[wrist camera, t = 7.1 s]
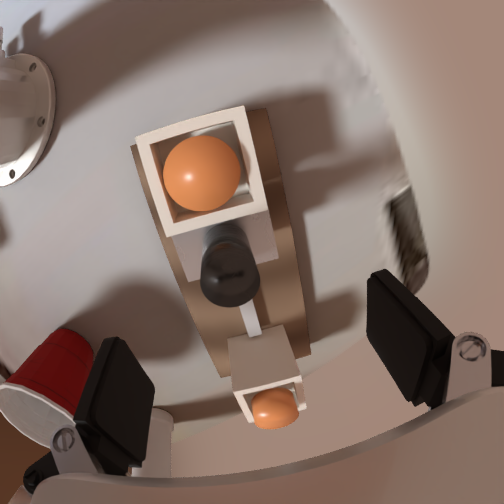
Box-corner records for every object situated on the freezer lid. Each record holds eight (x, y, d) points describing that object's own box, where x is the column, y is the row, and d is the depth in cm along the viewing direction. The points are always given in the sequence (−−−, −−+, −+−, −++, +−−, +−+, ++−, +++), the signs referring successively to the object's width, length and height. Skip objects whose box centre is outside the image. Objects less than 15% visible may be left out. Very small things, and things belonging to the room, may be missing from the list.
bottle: (177, 412, 32) (182, 582, 9) (170, 427, 34) (173, 578, 11) (140, 402, 31) (129, 575, 8) (136, 419, 32) (127, 572, 10)
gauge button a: (161, 146, 13) (154, 148, 12) (228, 127, 13) (230, 126, 12) (180, 209, 15) (176, 220, 13) (244, 191, 15) (248, 200, 13)
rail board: (135, 145, 19) (126, 146, 17) (262, 109, 19) (268, 106, 17) (220, 367, 29) (221, 384, 27) (307, 345, 29) (313, 360, 27)
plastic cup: (133, 359, 27) (114, 452, 16) (84, 386, 29) (63, 459, 18) (62, 291, 23) (7, 376, 12) (24, 331, 24) (-17, 400, 13)
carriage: (175, 216, 19) (156, 265, 12) (259, 193, 19) (286, 230, 12) (191, 261, 20) (183, 326, 14) (269, 240, 21) (298, 296, 14)
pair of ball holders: (163, 135, 19) (134, 137, 12) (232, 115, 19) (244, 105, 12) (240, 363, 29) (249, 422, 22) (287, 351, 29) (306, 408, 22)
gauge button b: (246, 393, 20) (249, 413, 18) (290, 382, 20) (296, 401, 18) (256, 414, 22) (259, 432, 20) (295, 404, 22) (300, 422, 20)
